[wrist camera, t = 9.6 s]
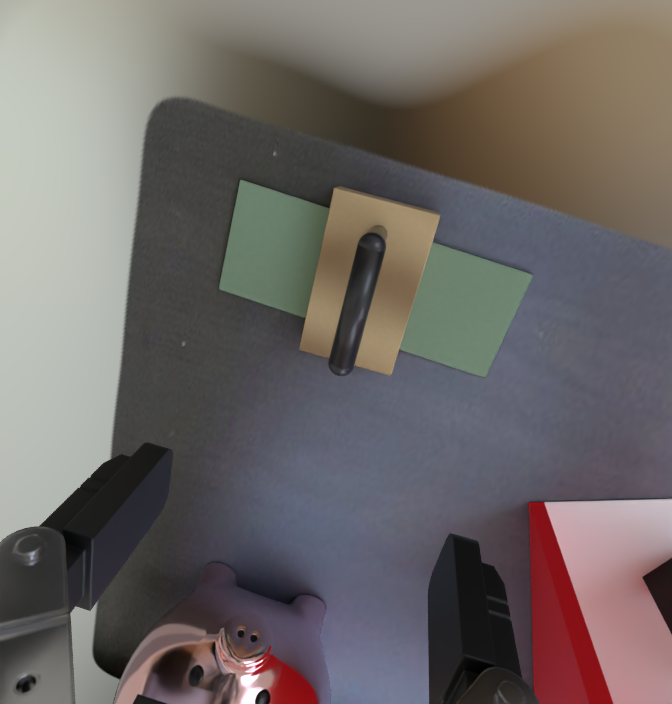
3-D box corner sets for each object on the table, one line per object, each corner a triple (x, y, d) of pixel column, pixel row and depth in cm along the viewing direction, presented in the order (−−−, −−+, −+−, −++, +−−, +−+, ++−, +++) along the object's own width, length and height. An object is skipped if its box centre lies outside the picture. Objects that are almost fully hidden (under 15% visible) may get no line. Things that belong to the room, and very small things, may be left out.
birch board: (392, 366, 32) (385, 413, 26) (303, 341, 32) (278, 382, 27) (440, 212, 28) (444, 227, 22) (338, 185, 28) (317, 194, 23)
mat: (219, 288, 32) (218, 289, 32) (241, 179, 29) (240, 179, 29) (484, 377, 32) (485, 378, 31) (532, 274, 29) (533, 275, 29)
